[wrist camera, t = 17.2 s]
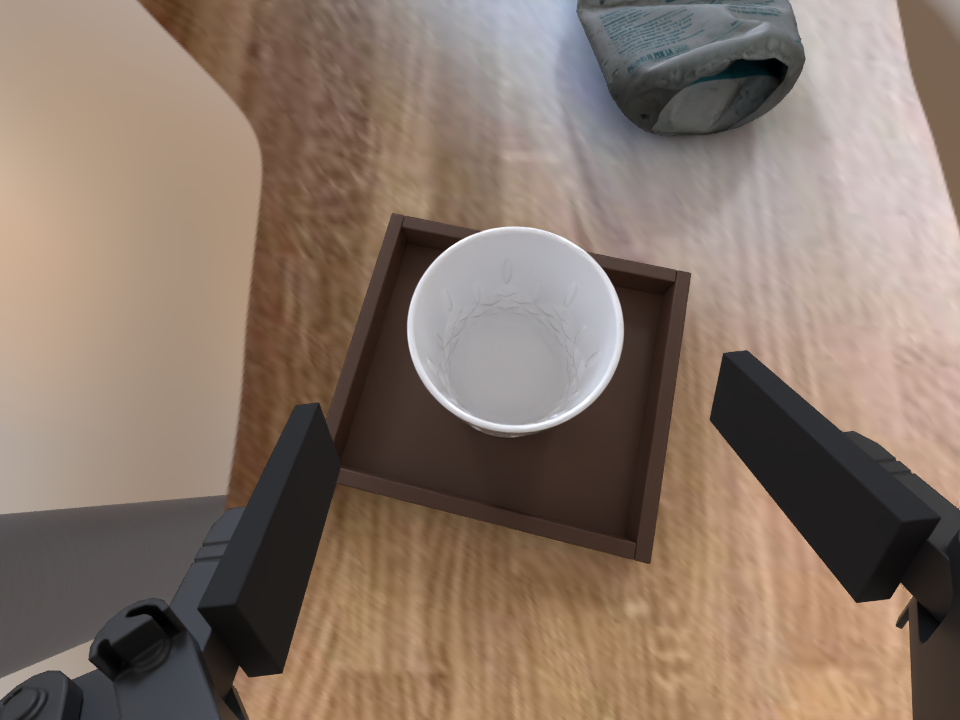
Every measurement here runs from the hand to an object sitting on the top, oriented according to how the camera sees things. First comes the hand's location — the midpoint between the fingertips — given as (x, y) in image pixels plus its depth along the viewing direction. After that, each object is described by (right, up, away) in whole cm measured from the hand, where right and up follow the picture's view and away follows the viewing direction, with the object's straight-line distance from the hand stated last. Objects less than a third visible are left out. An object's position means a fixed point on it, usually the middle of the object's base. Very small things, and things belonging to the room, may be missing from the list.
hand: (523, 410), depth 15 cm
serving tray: (0, +1, +12) cm, 12 cm away
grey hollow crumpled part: (+12, +27, +18) cm, 35 cm away
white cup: (0, +1, +11) cm, 11 cm away
